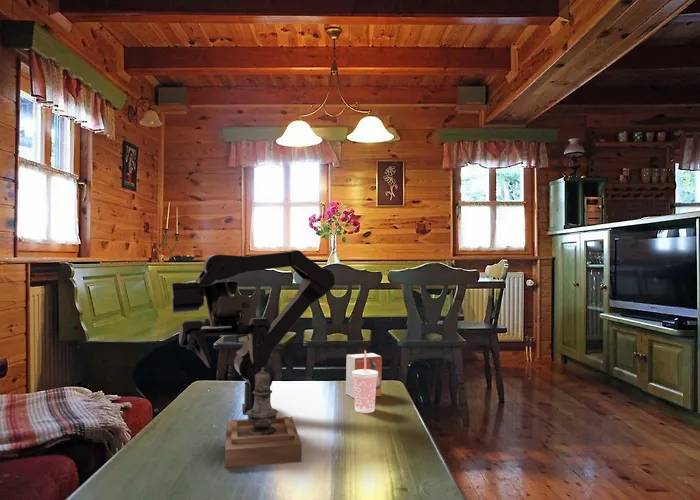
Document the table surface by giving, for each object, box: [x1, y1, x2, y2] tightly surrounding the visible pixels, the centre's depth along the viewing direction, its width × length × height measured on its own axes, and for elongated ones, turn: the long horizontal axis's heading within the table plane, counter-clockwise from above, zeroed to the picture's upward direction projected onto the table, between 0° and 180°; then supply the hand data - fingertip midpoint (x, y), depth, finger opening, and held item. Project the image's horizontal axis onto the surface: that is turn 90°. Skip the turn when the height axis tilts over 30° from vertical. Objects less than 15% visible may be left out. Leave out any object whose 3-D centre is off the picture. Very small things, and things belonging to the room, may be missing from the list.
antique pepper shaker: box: [245, 367, 279, 436], centre depth 95 cm, size 6×6×12 cm
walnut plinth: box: [224, 416, 303, 469], centre depth 95 cm, size 16×13×4 cm
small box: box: [345, 352, 383, 400], centre depth 133 cm, size 8×6×10 cm
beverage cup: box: [352, 350, 378, 414], centre depth 120 cm, size 6×6×14 cm
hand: (232, 364), depth 104 cm, fingers open, 9 cm apart
